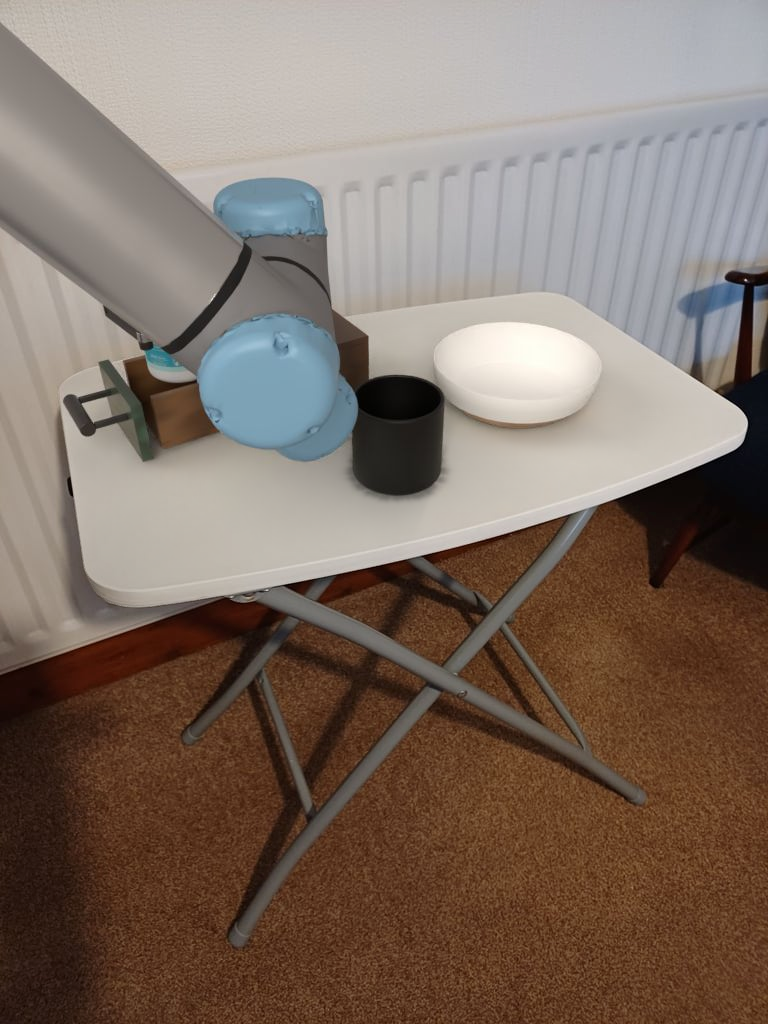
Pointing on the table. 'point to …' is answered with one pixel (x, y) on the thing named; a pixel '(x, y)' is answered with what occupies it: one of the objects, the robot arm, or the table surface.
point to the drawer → (145, 408)
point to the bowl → (516, 373)
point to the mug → (398, 434)
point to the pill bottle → (166, 367)
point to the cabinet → (351, 351)
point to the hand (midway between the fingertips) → (150, 262)
